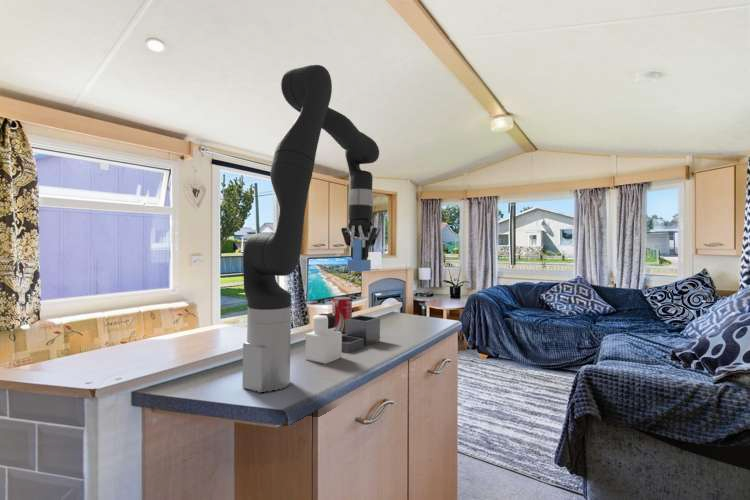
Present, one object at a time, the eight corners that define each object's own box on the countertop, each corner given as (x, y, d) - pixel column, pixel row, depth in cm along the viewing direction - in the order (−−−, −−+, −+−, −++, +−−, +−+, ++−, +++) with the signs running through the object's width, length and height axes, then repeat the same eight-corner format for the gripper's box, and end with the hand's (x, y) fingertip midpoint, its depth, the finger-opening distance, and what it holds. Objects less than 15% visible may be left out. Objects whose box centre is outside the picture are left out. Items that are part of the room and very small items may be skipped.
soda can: (329, 329, 141) (329, 296, 141) (347, 328, 144) (347, 296, 144) (335, 333, 135) (336, 299, 134) (354, 332, 138) (355, 298, 137)
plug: (361, 271, 118) (361, 238, 118) (347, 270, 121) (348, 238, 121) (370, 270, 122) (371, 239, 122) (357, 269, 125) (357, 239, 125)
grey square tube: (365, 346, 119) (366, 321, 118) (345, 342, 123) (345, 318, 123) (379, 341, 125) (380, 318, 125) (359, 337, 130) (359, 315, 129)
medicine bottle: (321, 353, 110) (322, 311, 110) (341, 357, 106) (342, 314, 106) (304, 359, 104) (305, 315, 104) (325, 364, 100) (326, 318, 100)
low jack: (348, 352, 111) (348, 344, 111) (326, 348, 115) (326, 340, 115) (364, 346, 118) (364, 338, 118) (343, 342, 122) (343, 335, 122)
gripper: (335, 204, 122) (334, 258, 122) (372, 202, 115) (371, 260, 115) (349, 207, 129) (348, 258, 129) (386, 205, 121) (384, 260, 121)
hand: (359, 259), depth 122 cm, fingers closed on plug, 3 cm apart
